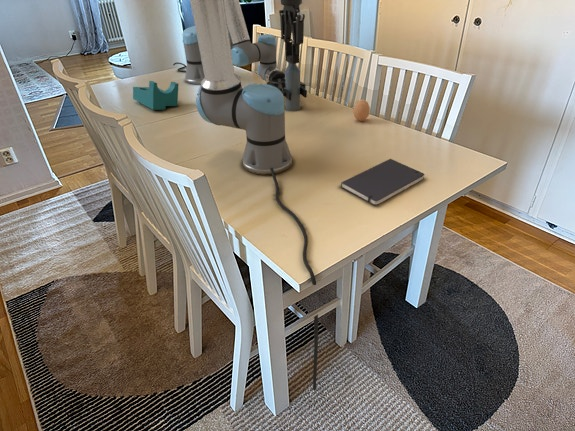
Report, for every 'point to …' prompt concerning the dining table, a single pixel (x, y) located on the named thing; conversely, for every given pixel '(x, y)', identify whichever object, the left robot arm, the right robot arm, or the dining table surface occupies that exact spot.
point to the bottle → (293, 86)
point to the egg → (361, 110)
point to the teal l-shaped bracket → (156, 96)
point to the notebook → (382, 181)
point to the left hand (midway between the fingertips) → (298, 95)
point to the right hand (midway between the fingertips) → (292, 61)
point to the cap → (289, 58)
